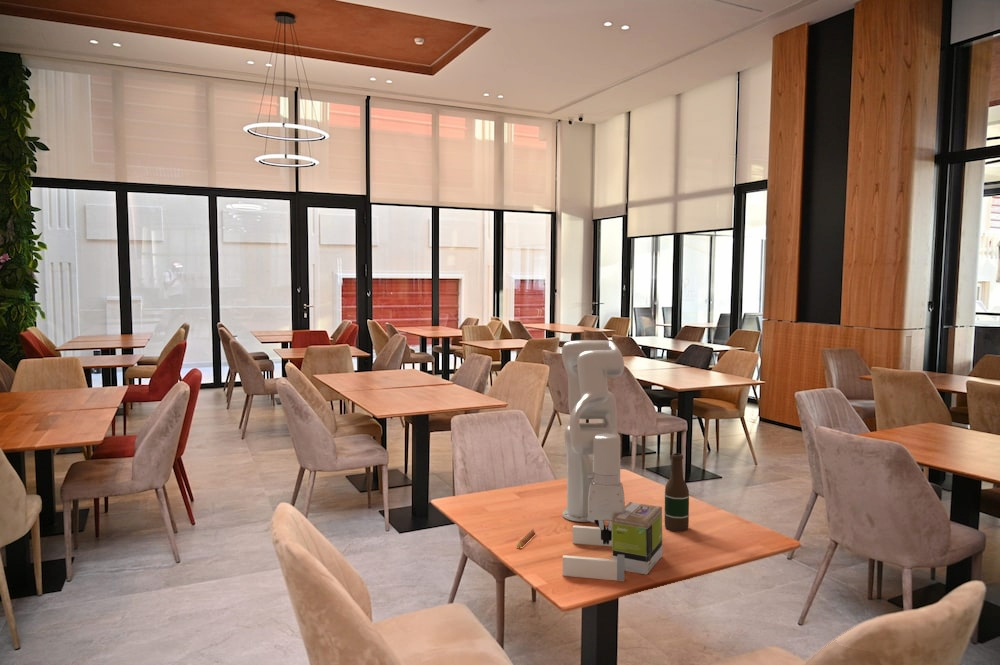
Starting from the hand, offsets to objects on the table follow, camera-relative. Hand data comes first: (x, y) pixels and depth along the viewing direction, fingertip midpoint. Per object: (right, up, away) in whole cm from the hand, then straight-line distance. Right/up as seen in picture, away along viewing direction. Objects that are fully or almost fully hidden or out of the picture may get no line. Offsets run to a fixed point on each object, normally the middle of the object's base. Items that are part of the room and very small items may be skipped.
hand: (606, 542), depth 188 cm
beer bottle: (+27, -4, +26) cm, 37 cm away
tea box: (+9, -6, -1) cm, 10 cm away
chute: (-3, -5, +1) cm, 6 cm away
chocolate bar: (-22, -5, +16) cm, 27 cm away
